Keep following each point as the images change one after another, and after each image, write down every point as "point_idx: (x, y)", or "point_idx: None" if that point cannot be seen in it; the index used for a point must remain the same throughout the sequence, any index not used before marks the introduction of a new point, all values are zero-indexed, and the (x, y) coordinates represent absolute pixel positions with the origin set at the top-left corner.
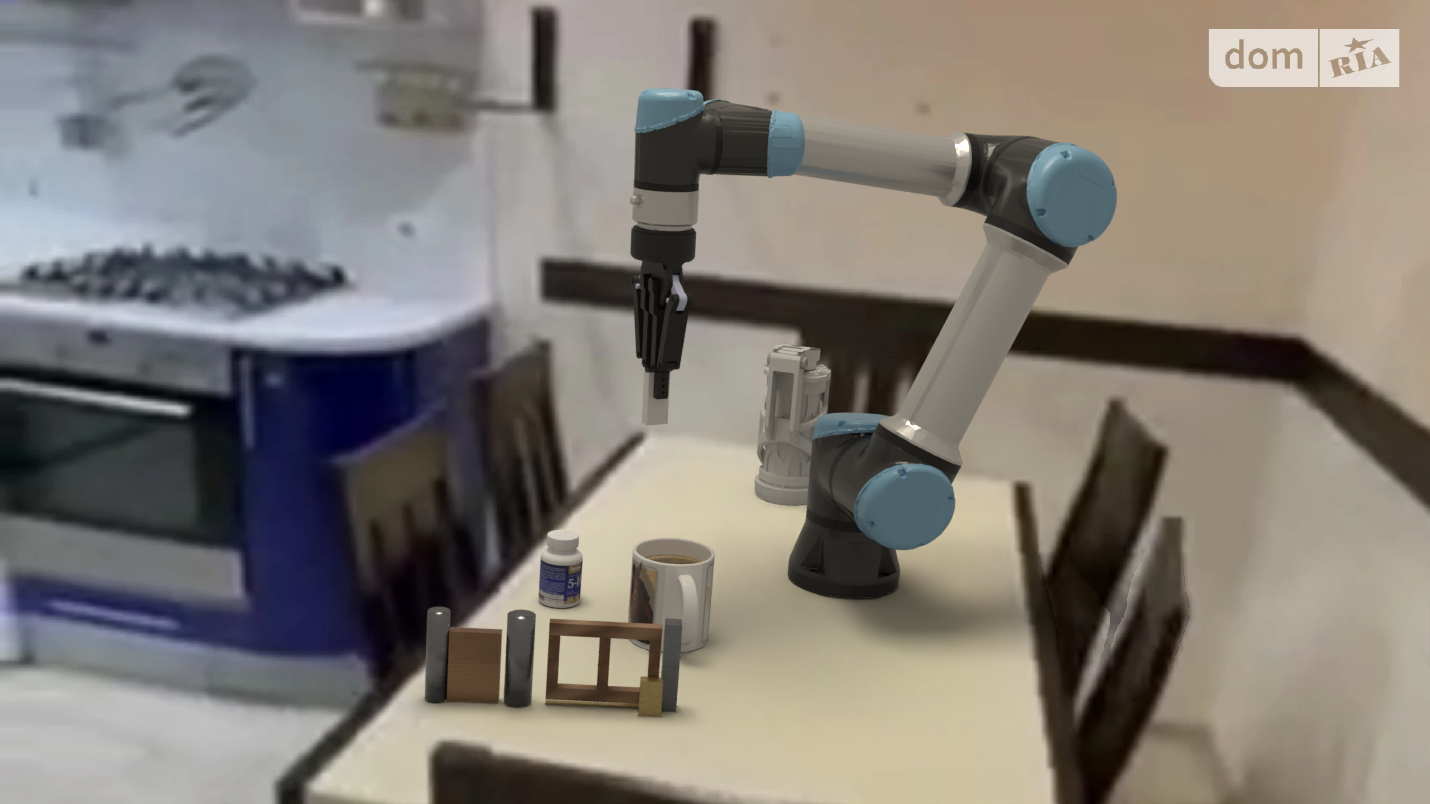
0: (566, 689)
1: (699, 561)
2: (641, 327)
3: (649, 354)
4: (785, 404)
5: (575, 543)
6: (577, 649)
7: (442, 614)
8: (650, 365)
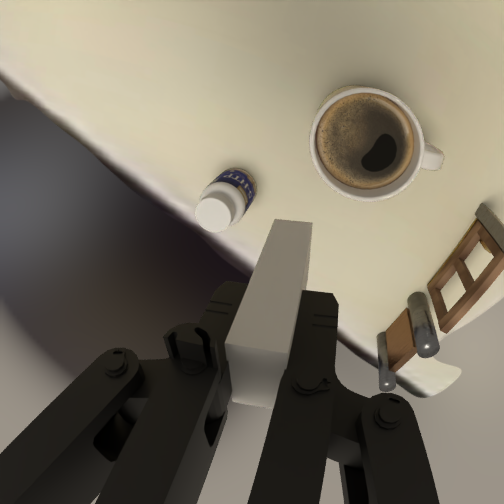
0: (444, 284)
1: (354, 94)
2: (89, 495)
3: (214, 444)
4: None
5: (229, 205)
6: (353, 220)
7: (394, 386)
8: (228, 400)
